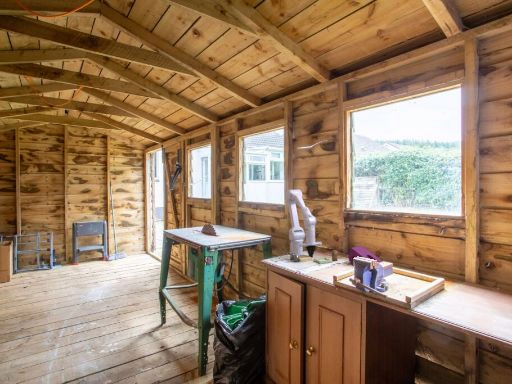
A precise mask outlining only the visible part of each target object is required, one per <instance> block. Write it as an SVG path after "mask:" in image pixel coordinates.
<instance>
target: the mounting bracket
mask: <svg viewBox="0 0 512 384" xmlns="http://www.w3.org/2000/svg"><path fill="white" fill-rule="evenodd" d="M348 253H349V254H348V255H347V259H348V260H349V263H350V264H351V265H353V258H354V257H357V256H359V257H365V258H370V259H374V260H377V261H378V262H383V260H381V259H380V258H379V257H378V256H376V255H375V254H373V253H372V251H370V250H368V248H366V247H364V246H363V245H360V246H353V247H351V248H350V250H349V252H348Z"/></svg>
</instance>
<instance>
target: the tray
mask: <svg viewBox="0 0 512 384" xmlns="http://www.w3.org/2000/svg"><path fill="white" fill-rule="evenodd" d="M313 261H314V262H315V263H317V264H320V265H323V264H325V265H326V264H332V263H333V262H334V261H332V258H328V257H327V256H326V257H325V256H324V257H315V258H313Z"/></svg>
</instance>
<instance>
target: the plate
mask: <svg viewBox="0 0 512 384" xmlns="http://www.w3.org/2000/svg"><path fill="white" fill-rule="evenodd" d="M305 262H307V263H308V262H313V258H312V257H310V256H309V255H308V254H305V255H299V262H298V263H305Z"/></svg>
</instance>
